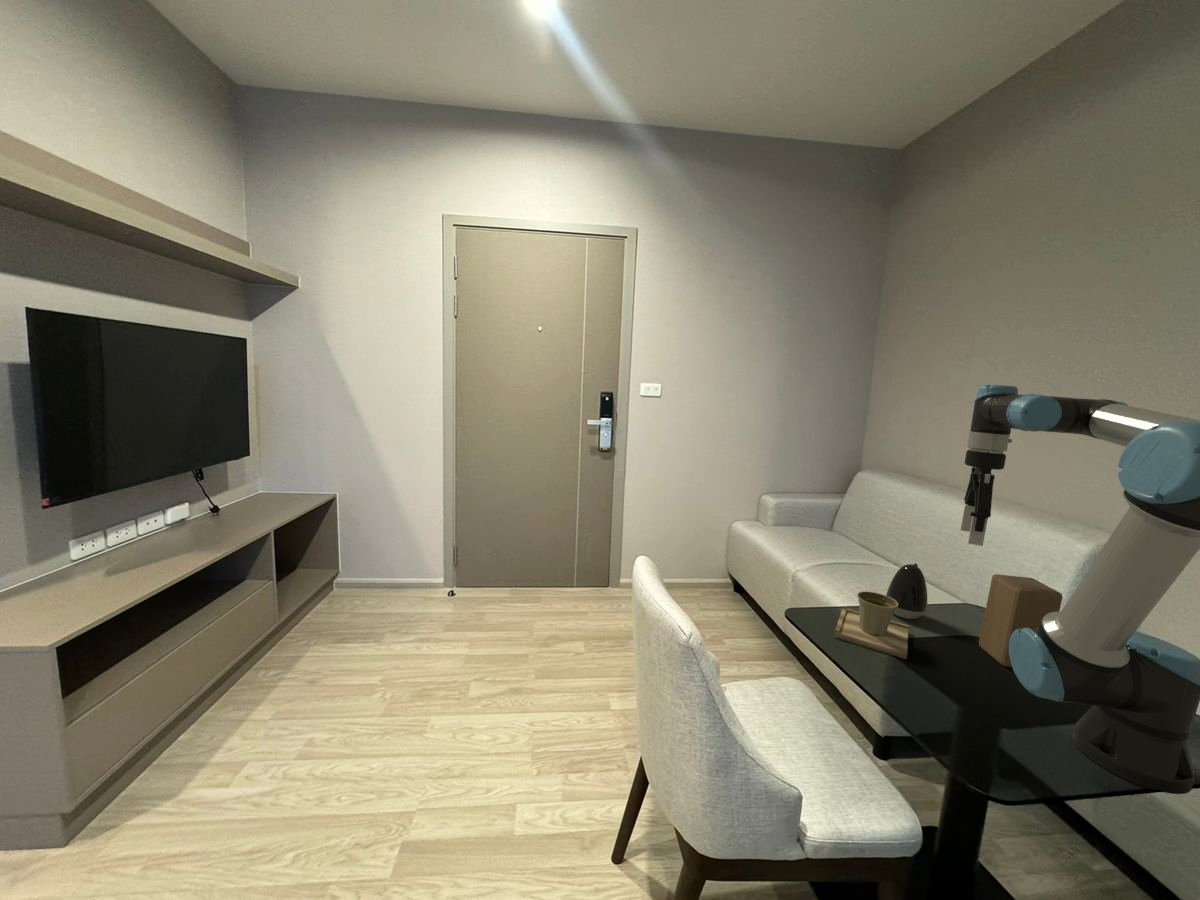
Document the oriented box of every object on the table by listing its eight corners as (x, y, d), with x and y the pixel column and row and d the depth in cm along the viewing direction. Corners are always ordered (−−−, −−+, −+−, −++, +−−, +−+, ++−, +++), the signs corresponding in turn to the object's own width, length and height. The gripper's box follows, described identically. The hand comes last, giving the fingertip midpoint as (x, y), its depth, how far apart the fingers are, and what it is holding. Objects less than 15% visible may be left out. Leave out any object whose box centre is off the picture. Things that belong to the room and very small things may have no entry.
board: (906, 659, 120) (907, 651, 120) (834, 637, 128) (835, 629, 128) (907, 632, 133) (908, 625, 133) (841, 614, 142) (842, 607, 141)
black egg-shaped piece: (928, 616, 144) (937, 566, 142) (920, 627, 137) (929, 575, 134) (889, 603, 151) (897, 555, 149) (879, 613, 144) (887, 563, 141)
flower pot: (853, 617, 137) (858, 587, 135) (892, 628, 132) (898, 597, 131) (851, 631, 129) (856, 600, 127) (893, 643, 124) (898, 611, 123)
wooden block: (1017, 650, 128) (1033, 576, 125) (1047, 673, 118) (1065, 593, 115) (976, 645, 129) (990, 572, 126) (1002, 668, 119) (1019, 589, 116)
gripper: (1018, 458, 105) (1000, 554, 108) (996, 448, 127) (981, 529, 130) (974, 453, 109) (958, 547, 112) (960, 444, 130) (946, 523, 133)
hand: (970, 537), depth 121 cm, fingers open, 13 cm apart
